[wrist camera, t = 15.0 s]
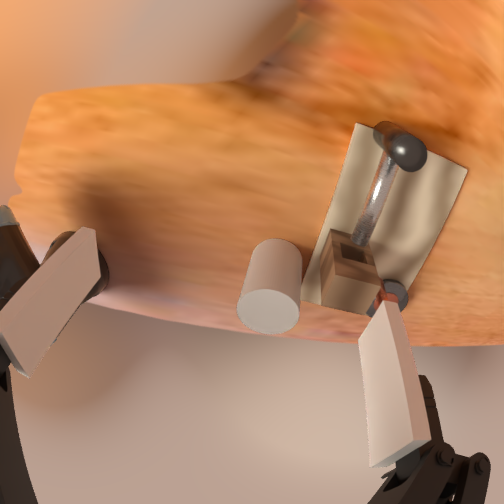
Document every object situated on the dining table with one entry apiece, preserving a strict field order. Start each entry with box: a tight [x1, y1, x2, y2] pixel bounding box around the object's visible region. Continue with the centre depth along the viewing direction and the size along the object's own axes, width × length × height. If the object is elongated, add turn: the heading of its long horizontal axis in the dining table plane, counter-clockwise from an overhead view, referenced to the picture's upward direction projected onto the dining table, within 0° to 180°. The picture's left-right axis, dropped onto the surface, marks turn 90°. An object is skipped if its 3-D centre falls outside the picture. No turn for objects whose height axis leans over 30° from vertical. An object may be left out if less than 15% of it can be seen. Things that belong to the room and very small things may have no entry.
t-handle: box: [350, 121, 428, 247], centre depth 33 cm, size 4×15×10 cm, turn 169°
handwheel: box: [366, 277, 408, 317], centre depth 43 cm, size 10×8×9 cm
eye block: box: [300, 123, 468, 316], centre depth 38 cm, size 18×30×12 cm, turn 169°
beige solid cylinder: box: [237, 239, 302, 334], centre depth 43 cm, size 8×8×12 cm
